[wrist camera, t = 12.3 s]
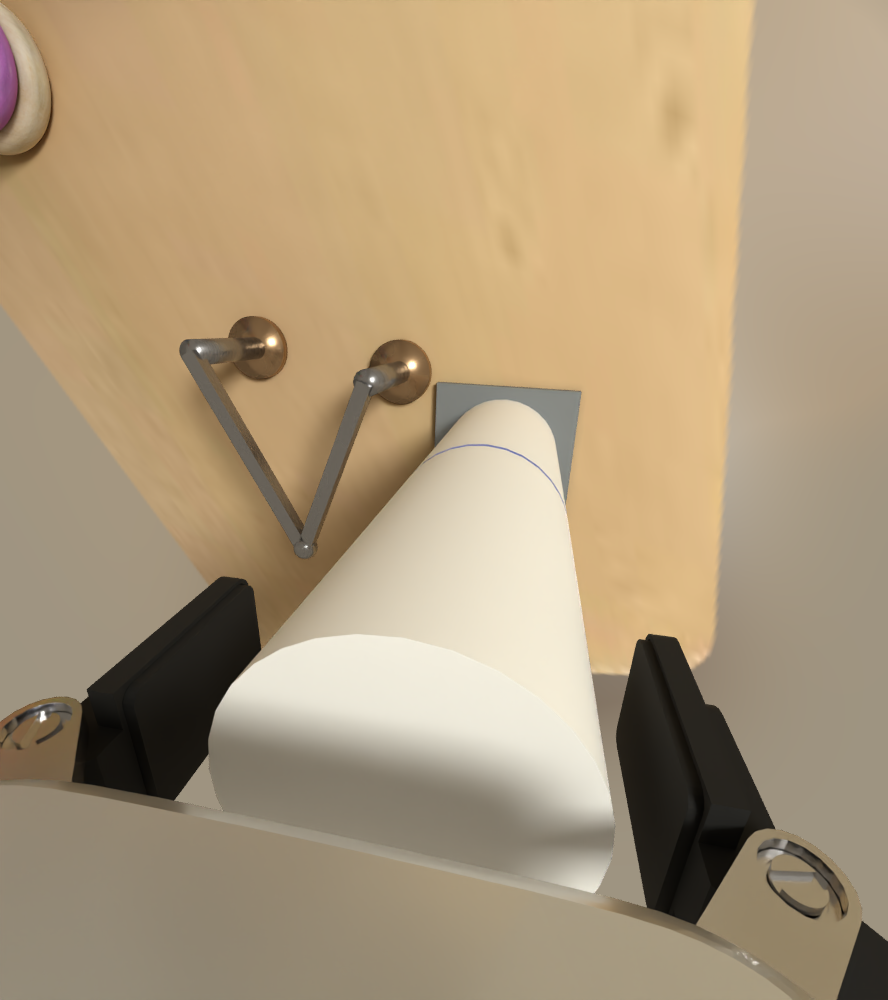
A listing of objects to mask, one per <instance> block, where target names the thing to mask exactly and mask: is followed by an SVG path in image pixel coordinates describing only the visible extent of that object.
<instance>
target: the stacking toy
mask: <svg viewBox="0 0 888 1000" xmlns="http://www.w3.org/2000/svg"><path fill="white" fill-rule="evenodd" d="M50 113H51V90H50V84H49V78H48V74H47V70H46V67H45V64H44V61H43V59H42V56H41V54H40V51H39V49H38V47H37V45H36V43H35V41H34V39H33V38H32V36H31V35H30V33H29V31H28V30H27V29H26V27H25V26H24V25H23V23H22V22H21V21H20V20H19V19H18V18H17V17H16V16H15V15H14V13H13V12H12V11H10V10H9V9H8V8H7V7H6V6H4V5H3V4H2V3H0V154H1V155H16V154H20V153H23V152H26V151H28V150H29V149H31V148H32V147H34V146H35V145H36V144H37V143H38V142H39V141H40V139H41V138H42V136H43V135H44V133H45V131H46V128H47V126H48V123H49V118H50Z"/></svg>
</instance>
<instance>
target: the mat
mask: <svg viewBox="0 0 888 1000" xmlns="http://www.w3.org/2000/svg"><path fill="white" fill-rule="evenodd" d="M580 398H581V391H572V390H556V389H541V388H525V387H510V386H494V385H479V384H463V383H447V382H438V383H437V397H436V425H435V447H436V446H437V444H438V443H439V442H440V441H441V440H442V439H443V437H444V436H445V435H446V434H447V433H448V432H449V430H450V429H451V428H452V427H453V426H454V424H455V423H456V422H457V421H458V420H459V419H460V418H461V417H462V416H463V415H464V414H465V413H466V412H467V411H468V410H470V409H471V408H473V407H474V406H476V405H479V404H481V403H483V402H487V401H491V400H511V401H516V402H520V403H522V404H524V405H527V406H529V407H530V408H532V409H533V410H535V411H536V412H537V413H539V414H540V416H541V417H542V418H543V419H544V420H545V421H546V422H547V424H548V426H549V427H550V429H551V431H552V434H553V436H554V439H555V444H556V450H557V457H558V463H559V469H560V475H561V481H562V487H563V494H564V500H565V506H566V499H567V492H568V484H569V477H570V470H571V463H572V456H573V449H574V441H575V434H576V427H577V420H578V413H579V406H580Z"/></svg>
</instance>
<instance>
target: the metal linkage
mask: <svg viewBox="0 0 888 1000" xmlns="http://www.w3.org/2000/svg"><path fill="white" fill-rule="evenodd" d="M179 351H180V356H181V358H182V359H183V361H184V363H185V364H186V366H187V368H188V370H189V371H190V373H191V375H192V376H193V378H194V380H195V381H196V383H197V385H198V386H199V388H200V390H201V391H202V393H203V395H204V396H205V398H206V400H207V401H208V403H209V405H210V406H211V408H212V410H213V412H214V413H215V415H216V417H217V418H218V420H219V422H220V423H221V425H222V427H223V428H224V430H225V432H226V433H227V435H228V437H229V438H230V440H231V442H232V443H233V445H234V447H235V448H236V450H237V452H238V454H239V455H240V457H241V459H242V460H243V462H244V464H245V465H246V467H247V469H248V470H249V472H250V474H251V475H252V477H253V479H254V480H255V482H256V484H257V485H258V487H259V489H260V490H261V492H262V494H263V496H264V497H265V499H266V501H267V502H268V504H269V506H270V507H271V509H272V511H273V512H274V514H275V516H276V517H277V519H278V521H279V522H280V524H281V526H282V527H283V529H284V531H285V532H286V534H287V536H288V538H289V539H290V541H291V543H292V544H293V546H294V552H295V554H296V555H297V556H298V557H299V558H302V559H308V558H311V557H313V556H314V555H315V554H316V552H317V548H318V546H317V539H318V537H319V534H320V531H321V529H322V526H323V523H324V521H325V518H326V515H327V513H328V510H329V507H330V505H331V502H332V499H333V497H334V494H335V492H336V489H337V486H338V484H339V481H340V478H341V476H342V473H343V470H344V468H345V465H346V462H347V460H348V457H349V454H350V452H351V449H352V447H353V444H354V441H355V439H356V436H357V433H358V431H359V428H360V425H361V423H362V420H363V417H364V415H365V412H366V409H367V407H368V404H369V402H370V399H371V396H373V395H375V394H378V393H379V394H380V395H381V396H382V397H383V398H384V399H386V400H388V401H390V402H393V403H397V404H405V403H409V402H412V401H414V400H416V399H418V398H419V397H420V396H422V395H423V394H424V393H425V391H426V390H427V388H428V386H429V384H430V381H431V374H432V371H431V364H430V361H429V359H428V356H427V355H426V353H425V352H424V351H423V349H422V348H421V347H419V346H418V345H417V344H415V343H413V342H411V341H407V340H393V341H389V342H387V343H385V344H383V345H382V346H380V347H379V348H378V349H377V350H376V352H375V353H374V355H373V357H372V360H371V363H370V368H367V369H363V370H360V371H359V372H357V373H356V375H355V377H354V380H353V383H354V389H353V392H352V395H351V398H350V400H349V403H348V406H347V409H346V412H345V414H344V417H343V420H342V423H341V425H340V428H339V431H338V434H337V437H336V439H335V442H334V445H333V448H332V450H331V453H330V456H329V459H328V462H327V464H326V467H325V470H324V473H323V475H322V478H321V481H320V484H319V487H318V489H317V492H316V495H315V498H314V500H313V503H312V506H311V509H310V512H309V514H308V517H307V520H306V523H305V525H303V523H302V521H301V520H300V518H299V516H298V515H297V513H296V511H295V509H294V508H293V506H292V504H291V503H290V501H289V499H288V497H287V496H286V494H285V492H284V491H283V489H282V487H281V485H280V484H279V482H278V480H277V478H276V477H275V475H274V473H273V472H272V470H271V468H270V466H269V465H268V463H267V461H266V460H265V458H264V456H263V454H262V453H261V451H260V449H259V448H258V446H257V444H256V442H255V441H254V439H253V437H252V436H251V434H250V432H249V430H248V429H247V427H246V425H245V424H244V422H243V420H242V418H241V417H240V415H239V413H238V412H237V410H236V408H235V406H234V405H233V403H232V401H231V400H230V398H229V396H228V394H227V393H226V391H225V389H224V388H223V386H222V384H221V382H220V381H219V379H218V377H217V376H216V374H215V372H214V370H213V369H212V367H211V365H210V364H218V363H227V362H234V364H235V365H236V367H237V368H238V369H239V370H240V371H241V372H243V373H244V374H245V375H247V376H249V377H252V378H256V379H263V378H269V377H272V376H275V375H276V374H278V373H279V372H280V371H281V370H282V368H283V367H284V365H285V363H286V360H287V344H286V340H285V337H284V335H283V333H282V332H281V330H280V329H279V328H278V327H277V326H276V325H275V324H274V323H273V322H272V321H270V320H268V319H266V318H263V317H256V316H249V317H244V318H242V319H240V320H238V321H237V322H236V323H235V324H234V325H233V327H232V328H231V330H230V333H229V337H228V338H217V339H188V340H184V341H183V342H182V343H181V345H180V350H179Z"/></svg>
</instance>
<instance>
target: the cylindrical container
mask: <svg viewBox="0 0 888 1000" xmlns="http://www.w3.org/2000/svg"><path fill="white" fill-rule="evenodd" d="M208 747H209V770H210V774H211V778H212V781H213V785H214V789H215V793H216V796H217V799H218V801H219V803H220V805H221V807H222V809H223V811H226V812H230V813H235V814H240V815H245V816H249V817H254V818H259V819H264V820H268V821H273V822H278V823H282V824H287V825H292V826H296V827H301V828H306V829H310V830H315V831H320V832H324V833H329V834H333V835H338V836H343V837H347V838H352V839H357V840H361V841H366V842H370V843H375V844H380V845H384V846H389V847H393V848H398V849H403V850H407V851H412V852H416V853H421V854H425V855H430V856H434V857H439V858H443V859H448V860H452V861H457V862H461V863H466V864H470V865H475V866H479V867H484V868H488V869H493V870H497V871H502V872H506V873H511V874H515V875H520V876H524V877H528V878H533V879H537V880H541V881H545V882H549V883H553V884H557V885H562V886H566V887H570V888H574V889H578V890H582V891H586V892H591V893H594V892H595V891H596V890H597V889H598V888H599V886H600V884H601V882H602V879H603V877H604V875H605V872H606V870H607V868H608V866H609V864H610V861H611V859H612V852H613V843H614V834H615V821H614V814H613V808H612V802H611V795H610V789H609V782H608V776H607V769H606V763H605V757H604V750H603V744H602V738H601V732H600V725H599V718H598V712H597V706H596V699H595V693H594V686H593V680H592V673H591V667H590V660H589V654H588V647H587V641H586V635H585V628H584V622H583V615H582V609H581V602H580V596H579V590H578V583H577V577H576V570H575V564H574V557H573V551H572V545H571V538H570V532H569V525H568V519H567V512H566V506H565V500H564V494H563V487H562V481H561V475H560V469H559V463H558V457H557V450H556V444H555V439H554V436H553V434H552V431H551V429H550V427H549V426H548V424H547V422H546V421H545V420H544V419H543V418H542V417H541V416H540V414H539V413H537V412H536V411H535V410H533V409H532V408H530V407H529V406H527V405H524V404H522V403H520V402H516V401H511V400H491V401H487V402H483V403H481V404H479V405H476V406H474V407H473V408H471V409H470V410H468V411H467V412H466V413H465V414H464V415H463V416H462V417H461V418H460V419H459V420H458V421H457V422H456V423H455V424H454V426H453V427H452V428H451V429H450V430H449V432H448V433H447V434H446V435H445V436H444V437H443V439H442V440H441V441H440V442H439V443H438V444H437V446H436V447H435V448H434V449H433V450H432V451H431V453H430V454H429V455H428V456H427V457H426V458H425V460H424V461H423V462H422V463H421V464H420V465H419V466H418V468H417V469H416V470H415V471H414V472H413V473H412V475H411V476H410V477H409V478H408V479H407V480H406V482H405V483H404V484H403V485H402V486H401V487H400V489H399V490H398V491H397V492H396V493H395V495H394V496H393V497H392V498H391V499H390V500H389V502H388V503H387V504H386V505H385V506H384V507H383V509H382V510H381V511H380V512H379V513H378V514H377V516H376V517H375V518H374V519H373V520H372V522H371V523H370V524H369V525H368V526H367V527H366V529H365V530H364V531H363V532H362V533H361V534H360V536H359V537H358V538H357V539H356V540H355V542H354V543H353V544H352V545H351V546H350V547H349V548H348V550H347V551H346V552H345V553H344V554H343V555H342V557H341V558H340V559H339V560H338V561H337V562H336V564H335V565H334V566H333V567H332V568H331V569H330V571H329V572H328V573H327V574H326V575H325V576H324V578H323V579H322V580H321V581H320V582H319V583H318V585H317V586H316V587H315V588H314V589H313V590H312V591H311V593H310V594H309V595H308V596H307V597H306V598H305V600H304V601H303V602H302V603H301V604H300V605H299V607H298V608H297V609H296V610H295V611H294V612H293V614H292V615H291V616H290V617H289V618H288V619H287V621H286V622H285V623H284V624H283V625H282V626H281V627H280V629H279V630H278V631H277V632H276V633H275V634H274V636H273V637H272V638H271V639H270V640H269V641H268V643H267V644H266V645H265V646H264V647H263V648H262V650H261V651H260V652H259V653H258V654H257V655H256V657H255V658H254V659H253V660H252V661H251V662H250V664H249V665H248V666H247V667H246V668H245V669H244V670H243V672H242V673H241V674H240V675H239V676H238V677H237V679H236V680H235V681H234V682H233V683H232V684H231V686H230V687H229V689H228V691H227V692H226V694H225V696H224V697H223V699H222V701H221V702H220V704H219V706H218V707H217V709H216V711H215V715H214V719H213V723H212V727H211V730H210V734H209V738H208Z"/></svg>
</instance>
